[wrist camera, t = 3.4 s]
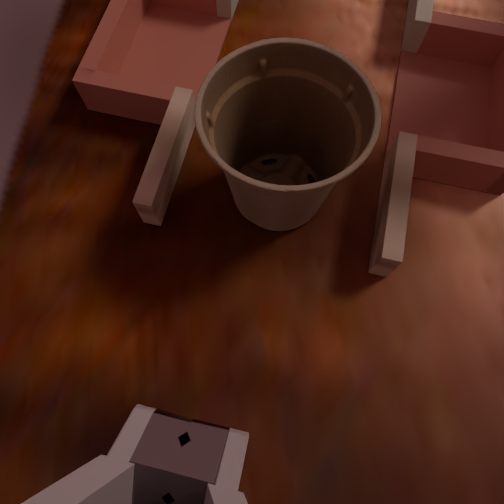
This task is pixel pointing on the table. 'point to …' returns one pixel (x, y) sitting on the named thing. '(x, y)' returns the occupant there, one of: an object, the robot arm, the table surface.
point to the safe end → (413, 31)
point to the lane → (175, 146)
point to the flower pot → (286, 126)
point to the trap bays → (405, 98)
